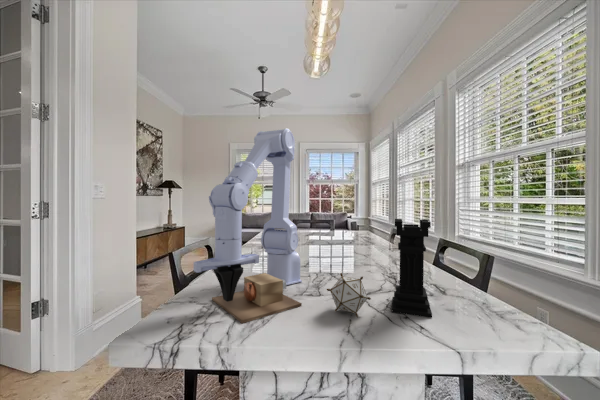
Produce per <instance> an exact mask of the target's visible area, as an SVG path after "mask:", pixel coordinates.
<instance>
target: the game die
mask: <svg viewBox="0 0 600 400" xmlns="http://www.w3.org/2000/svg"><path fill="white" fill-rule="evenodd" d="M363 279H364V276H363V275H362V276H360V278H356V277H349V276H344V275H343V273H342V272H340V278H339V279H338V280H337V282H335V284H333V286H332V287H331V288H326V290H327V292H330V294H331V297H332V299H333V302H334V304H335V307H336V308H335V309H334V312H338V310H340V311H342V312H343V311H344V312H348V313H352V314H354V315H355V317H356V318H358V316H359V314H358V311H360V309H361V308H362V306H363V305H364V304H365V302H366V301H367V300H368V301H370V300H372V298H371V297H370V296H368V295H367V293H366V290H365V288H364V285H363V282H362V280H363Z"/></svg>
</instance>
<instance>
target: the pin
mask: <svg viewBox="0 0 600 400" xmlns="http://www.w3.org/2000/svg"><path fill="white" fill-rule="evenodd" d="M281 280H283V290H285V289H286V288H287V285H286V282H285V280H284V279H281ZM243 291H244V295H245V298H246V299H247V301H253V300H255V298H256V288H255V285H254V284H253V283H252V282H248V283H246V284H245V285H244V284H243Z"/></svg>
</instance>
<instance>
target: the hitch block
mask: <svg viewBox="0 0 600 400" xmlns="http://www.w3.org/2000/svg"><path fill="white" fill-rule="evenodd" d="M243 281H244V282H243V286H244V285H245V284H246V283H248V282H252V283H253V284H254V285H255V288H256V298H255V300H253V301H247V299H246V298H245V295H244V290H240V291H236V292H234V296H233V300H232V301H228V302H227V301H225V300H224V299H223V294H222V295H217V296H213V297H212V298H211V301H213V302H214V303H215V304H217V306H219V307H220V308H222V309H223V310H224V311H225V312H227V313H228V314H229V315H230V316H231V317H234V318H235V320H237V321H238V322H240V323H241V324H244V323H248V322H252V321H255V320H258V319H262V318H265V317H268V316H273V315H275V314H276V315H277V314H279V313H282V312H286V311H288V310H292V309H295V308H299V307H302V306H303V305H302V303H303V302H300V301H298V300H295V299H293V298H292V297H289V296H288V295H285V294H284V289H283V280H281V279H278V278H276V277H274V276H271V275H269V274H267V272H264V273H259V274H254V275H253V274H252V275H247V276H243Z"/></svg>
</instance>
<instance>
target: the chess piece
mask: <svg viewBox="0 0 600 400" xmlns="http://www.w3.org/2000/svg"><path fill="white" fill-rule="evenodd" d="M431 222H432V221H429V219H419V224H413V223H411V224H410V223H409V224H408V223H407V224H406V223H404V224H403V219H402V218H394V228H396V233H395V234H396V236H399V242H398V243H397V245H398V246H397V248H398V249H397V250H398V251H399V285H398V284H396V285H395V290H394V291H393V293H394V294H393V296H392V303H391V313H392V314H399V315H409V316H415V317H423V318H431V319H432V318H433V312H432V310H431V305H430V301H429V297H428V293H427V291H426V290H427V289H426V287H424V265H425V264H424V262H425V261H424V258H425V257H424V256H425V255H424V254H425V252H427V247H426V245H425V243H424V242H425V239H424V238H429V229H430V228H432V227H431V225H432V224H431Z"/></svg>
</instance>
